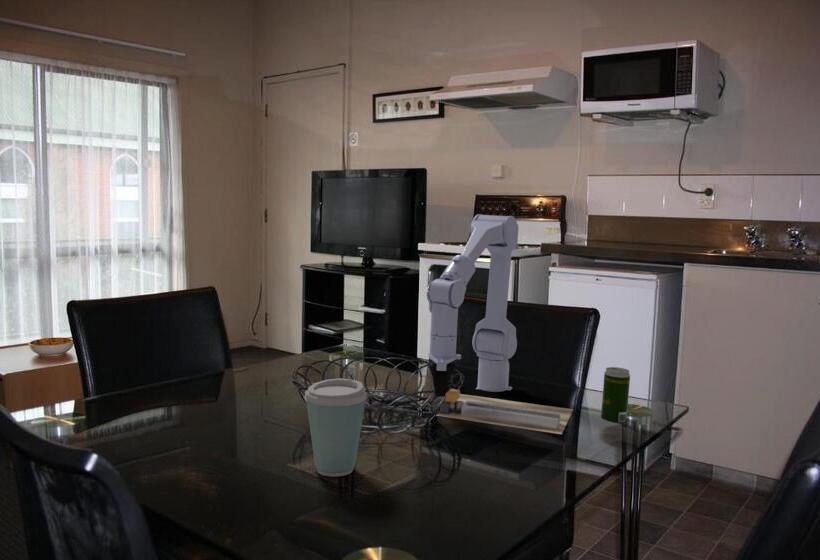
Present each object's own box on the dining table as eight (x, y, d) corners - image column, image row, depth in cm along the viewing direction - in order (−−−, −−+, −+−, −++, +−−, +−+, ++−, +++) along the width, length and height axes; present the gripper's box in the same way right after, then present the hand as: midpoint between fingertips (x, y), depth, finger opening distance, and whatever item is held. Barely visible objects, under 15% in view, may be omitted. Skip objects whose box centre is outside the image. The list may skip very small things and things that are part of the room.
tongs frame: (440, 405, 159) (440, 395, 159) (560, 423, 150) (561, 411, 150) (432, 412, 154) (432, 401, 154) (556, 430, 145) (557, 419, 145)
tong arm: (456, 407, 157) (457, 398, 157) (560, 422, 150) (560, 412, 150) (453, 411, 154) (453, 402, 154) (558, 426, 147) (558, 416, 147)
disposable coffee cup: (339, 487, 115) (342, 396, 113) (288, 471, 120) (290, 385, 119) (376, 468, 124) (380, 383, 122) (327, 454, 129) (330, 373, 128)
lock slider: (450, 396, 157) (451, 388, 157) (459, 398, 156) (459, 390, 156) (445, 401, 153) (445, 393, 153) (454, 402, 153) (454, 394, 153)
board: (453, 398, 170) (454, 393, 170) (572, 414, 161) (573, 409, 161) (429, 419, 152) (429, 414, 152) (561, 439, 143) (561, 434, 143)
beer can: (631, 424, 155) (635, 371, 154) (616, 429, 152) (620, 374, 150) (610, 418, 159) (614, 365, 158) (595, 422, 156) (599, 368, 155)
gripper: (462, 342, 147) (458, 406, 148) (461, 329, 161) (458, 388, 163) (428, 340, 147) (425, 404, 149) (430, 327, 162) (428, 386, 163)
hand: (440, 395), depth 156 cm, fingers closed
